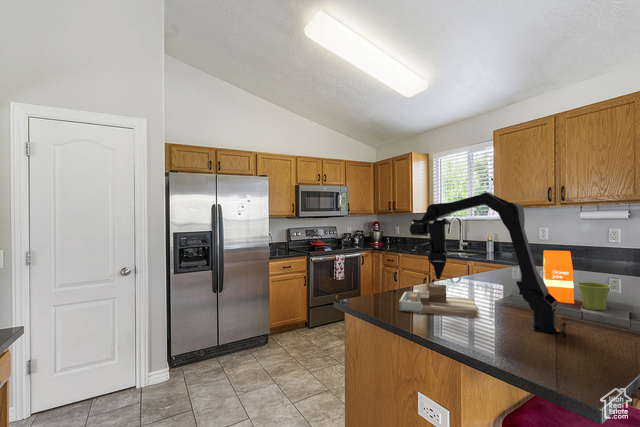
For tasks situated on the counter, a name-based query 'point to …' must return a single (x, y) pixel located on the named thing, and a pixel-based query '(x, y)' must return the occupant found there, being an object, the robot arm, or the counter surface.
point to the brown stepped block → (434, 294)
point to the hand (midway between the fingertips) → (438, 276)
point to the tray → (409, 303)
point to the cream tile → (417, 294)
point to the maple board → (452, 307)
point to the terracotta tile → (414, 298)
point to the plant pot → (594, 295)
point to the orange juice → (559, 275)
